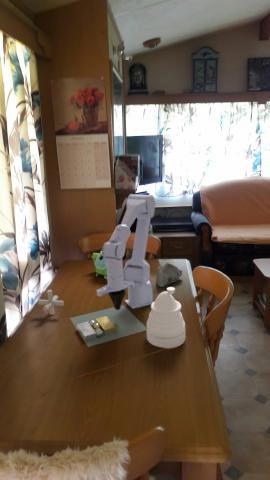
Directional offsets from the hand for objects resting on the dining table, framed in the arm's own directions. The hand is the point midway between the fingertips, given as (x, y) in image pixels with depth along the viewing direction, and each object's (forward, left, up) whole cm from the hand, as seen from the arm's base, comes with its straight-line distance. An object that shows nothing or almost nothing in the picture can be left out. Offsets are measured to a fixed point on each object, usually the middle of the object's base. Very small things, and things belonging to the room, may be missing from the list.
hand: (117, 308), depth 132 cm
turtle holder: (-13, -46, -5) cm, 48 cm away
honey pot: (-9, +19, -5) cm, 22 cm away
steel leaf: (+12, +4, -4) cm, 14 cm away
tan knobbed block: (+8, +4, -4) cm, 9 cm away
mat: (+5, +1, -5) cm, 7 cm away
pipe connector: (+21, -17, -5) cm, 27 cm away
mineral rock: (-34, -20, -5) cm, 40 cm away
